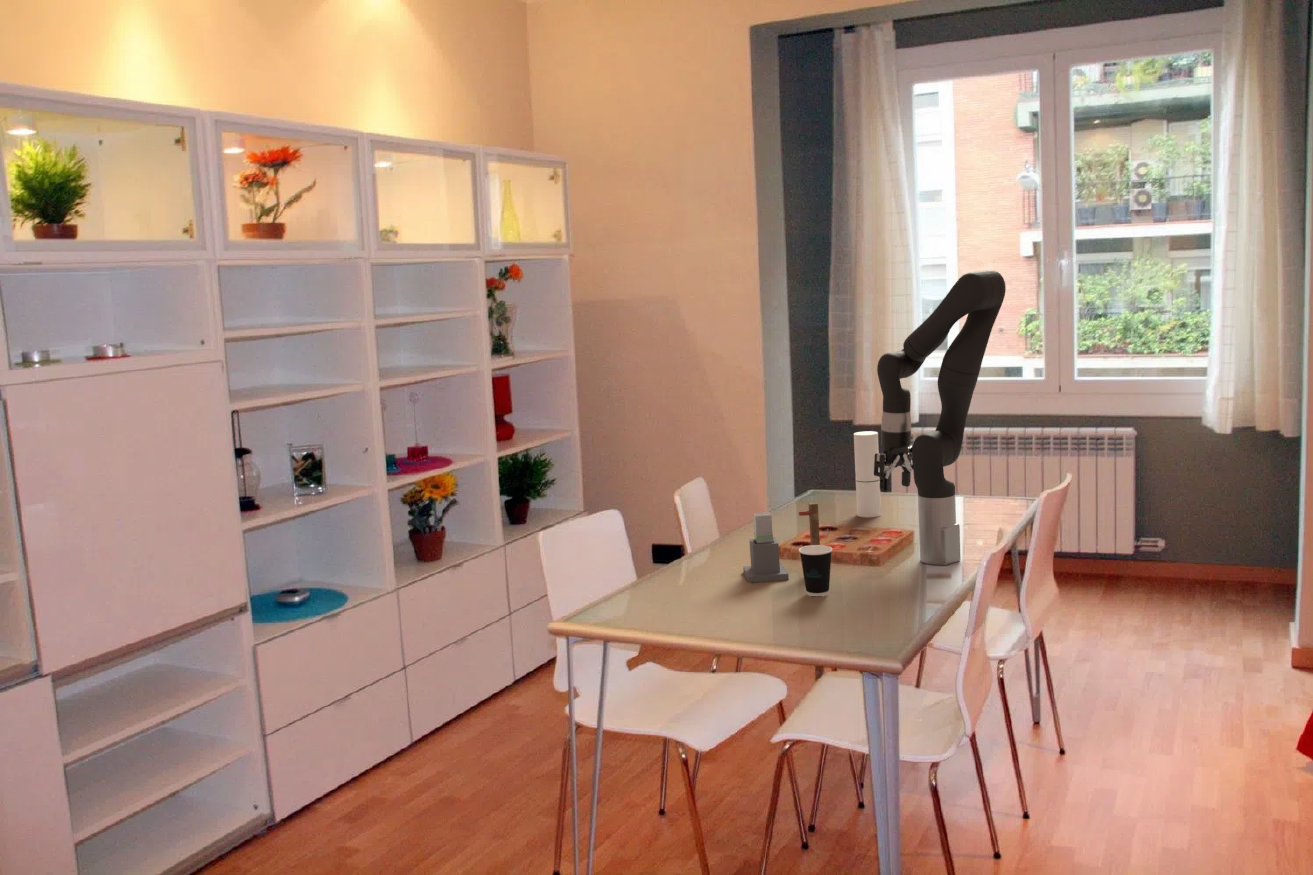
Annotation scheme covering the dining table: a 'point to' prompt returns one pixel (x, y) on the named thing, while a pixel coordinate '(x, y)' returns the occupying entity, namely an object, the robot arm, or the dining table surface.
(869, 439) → the cylindrical container
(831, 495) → the dining table surface
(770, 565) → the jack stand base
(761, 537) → the steel column
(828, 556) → the dixie cup
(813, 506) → the height gauge
